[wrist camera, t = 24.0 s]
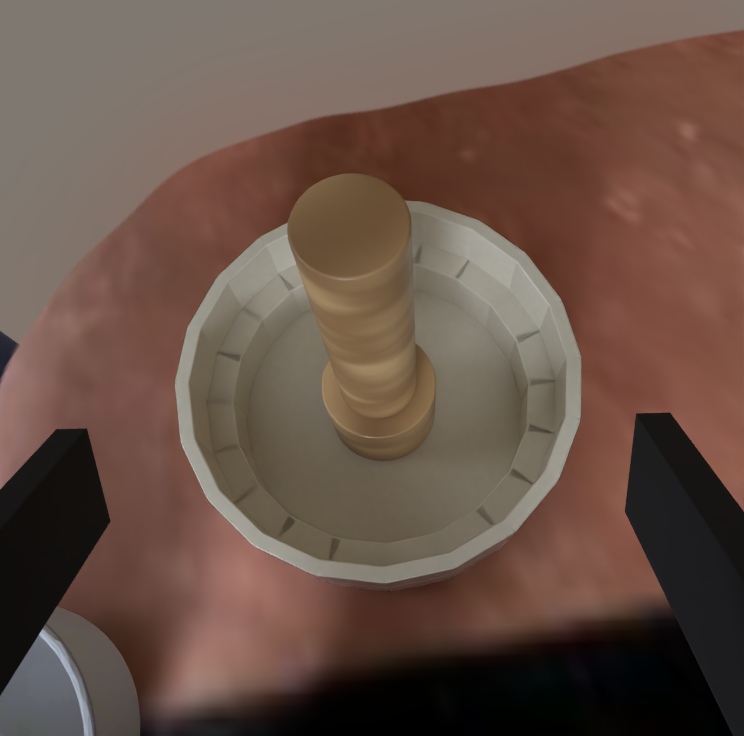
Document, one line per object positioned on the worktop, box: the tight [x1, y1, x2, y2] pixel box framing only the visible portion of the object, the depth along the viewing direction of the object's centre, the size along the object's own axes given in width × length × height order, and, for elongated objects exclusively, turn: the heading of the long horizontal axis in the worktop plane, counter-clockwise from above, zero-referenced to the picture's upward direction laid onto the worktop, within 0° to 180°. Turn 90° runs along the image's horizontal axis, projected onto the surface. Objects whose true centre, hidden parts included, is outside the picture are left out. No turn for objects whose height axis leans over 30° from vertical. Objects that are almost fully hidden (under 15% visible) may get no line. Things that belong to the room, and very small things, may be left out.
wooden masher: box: [287, 173, 436, 461], centre depth 25 cm, size 5×5×16 cm
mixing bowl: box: [175, 201, 582, 592], centre depth 31 cm, size 16×16×6 cm
